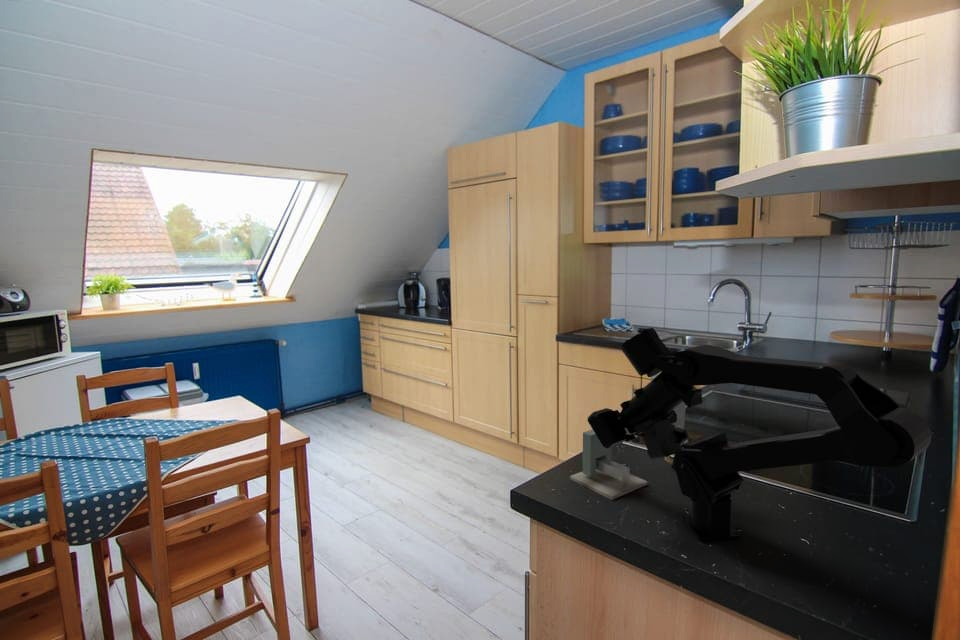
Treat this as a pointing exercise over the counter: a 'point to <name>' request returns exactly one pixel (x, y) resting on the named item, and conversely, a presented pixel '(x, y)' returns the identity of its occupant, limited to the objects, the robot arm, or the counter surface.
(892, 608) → the counter surface
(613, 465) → the grey square-edged bar
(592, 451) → the sleeve collar
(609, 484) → the guide board
